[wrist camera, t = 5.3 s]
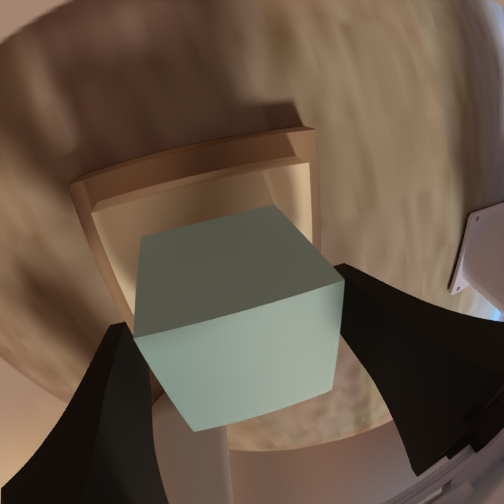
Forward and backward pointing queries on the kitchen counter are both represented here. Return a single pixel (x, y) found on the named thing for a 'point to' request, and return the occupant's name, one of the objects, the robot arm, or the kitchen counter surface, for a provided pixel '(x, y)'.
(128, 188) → the wooden base
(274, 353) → the teal block
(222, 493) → the salt shaker
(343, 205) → the kitchen counter surface
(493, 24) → the kitchen counter surface
